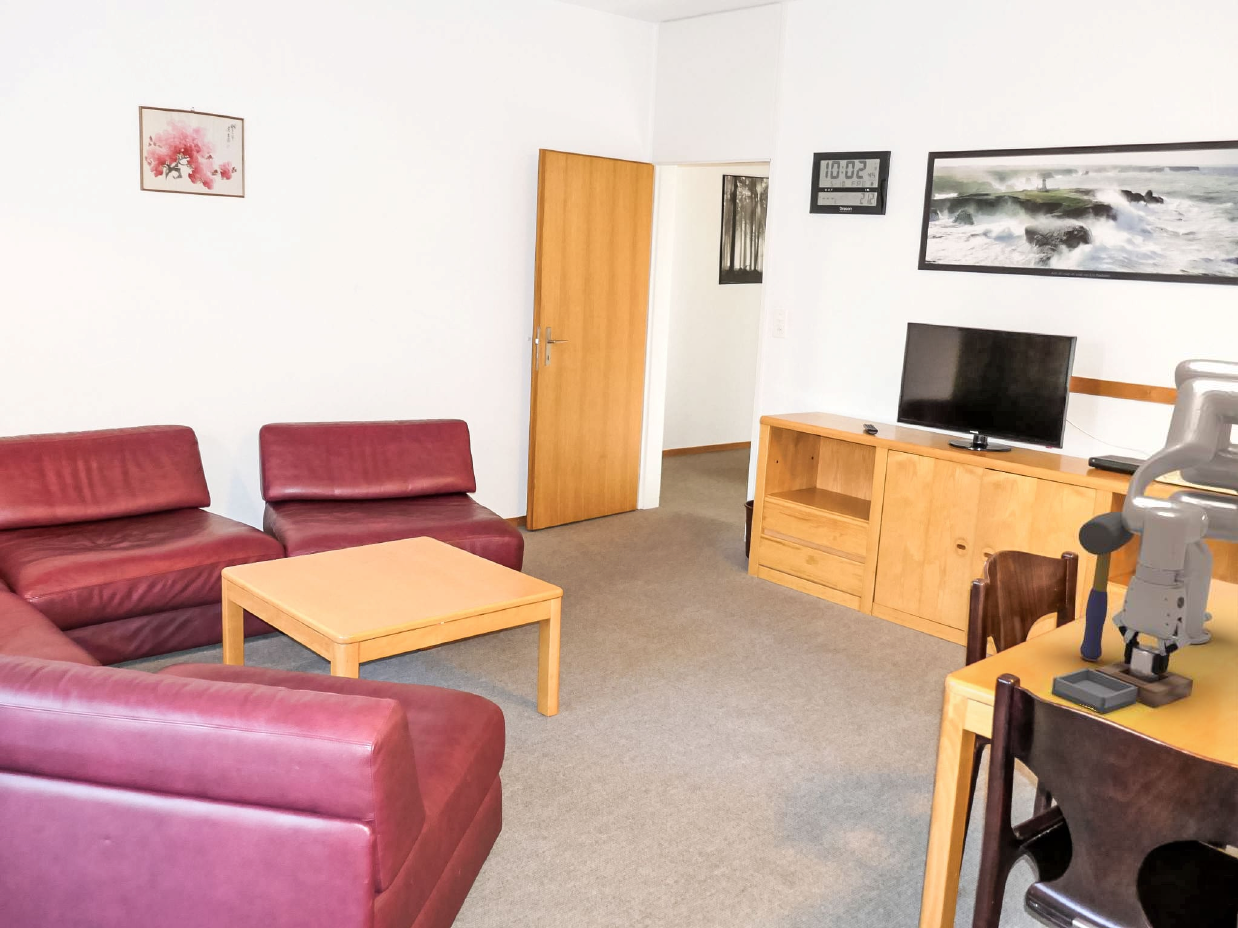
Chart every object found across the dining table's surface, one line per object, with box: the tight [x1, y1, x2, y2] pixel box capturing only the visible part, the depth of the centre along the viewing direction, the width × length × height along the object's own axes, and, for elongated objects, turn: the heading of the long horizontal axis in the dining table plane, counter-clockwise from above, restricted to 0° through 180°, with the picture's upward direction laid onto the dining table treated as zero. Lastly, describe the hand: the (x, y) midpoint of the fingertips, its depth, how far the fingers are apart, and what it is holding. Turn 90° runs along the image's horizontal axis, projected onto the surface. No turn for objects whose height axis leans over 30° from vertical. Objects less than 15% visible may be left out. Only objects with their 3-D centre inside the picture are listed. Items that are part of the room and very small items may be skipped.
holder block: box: [1094, 659, 1194, 709], centre depth 198 cm, size 12×12×3 cm
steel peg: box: [1128, 643, 1159, 684], centre depth 198 cm, size 5×5×8 cm
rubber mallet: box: [1078, 511, 1135, 662], centre depth 210 cm, size 12×8×30 cm, turn 137°
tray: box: [1051, 667, 1138, 715], centre depth 194 cm, size 10×10×3 cm
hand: (1144, 667), depth 198 cm, fingers closed on steel peg, 5 cm apart
